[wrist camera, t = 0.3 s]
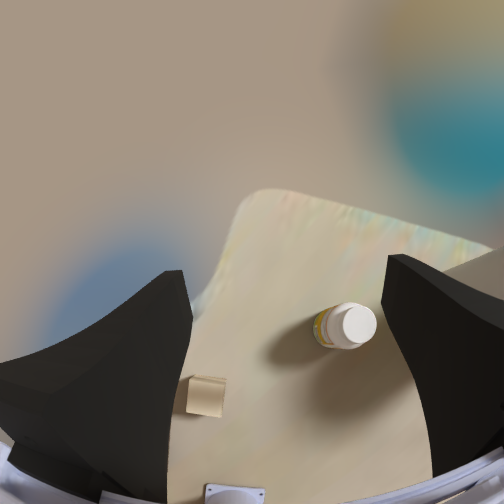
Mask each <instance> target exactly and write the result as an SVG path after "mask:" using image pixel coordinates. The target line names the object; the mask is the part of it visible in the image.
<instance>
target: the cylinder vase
mask: <svg viewBox="0 0 504 504" xmlns="http://www.w3.org/2000/svg"><path fill="white" fill-rule="evenodd" d="M442 273H444V274H446V275H448V276H450V277H452V278H454V279H455V280H457V281H459V282H462V283H464V284H466V285H468V286H470V287H472V288H474V289H476V290H479V291H481V292H483V293H486V294H488V295H491V296H493V297H496V298H499V299H502V300H504V246H502V247H500V248H498V249H496V250H493V251H491V252H489V253H487V254H484V255H482V256H480V257H477V258H475V259H473V260H470V261H468V262H466V263H463V264H461V265H459V266H456V267H454V268H451V269H449V270H446V271H444V272H442Z"/></svg>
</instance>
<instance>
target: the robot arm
mask: <svg viewBox="0 0 504 504" xmlns="http://www.w3.org/2000/svg"><path fill="white" fill-rule="evenodd" d="M381 305H382V308H383V311H384V314H385V317H386V320H387V322H388V325H389V327H390V329H391V331H392V333H393V335H394V337H395V339H396V342H397V344H398V346H399V348H400V350H401V352H402V354H403V356H404V358H405V360H406V362H407V364H408V366H409V368H410V370H411V373H412V375H413V378H414V380H415V383H416V386H417V390H418V393H419V396H420V400H421V403H422V407H423V411H424V416H425V420H426V425H427V430H428V436H429V442H430V449H431V459H432V473H433V478H432V479H429V480H427V481H424V482H421V483H418V484H415V485H412V486H409V487H406V488H403V489H399V490H396V491H392V492H389V493H385V494H381V495H377V496H373V497H369V498H365V499H360V500H355V501H350V502H345V503H339V504H436V503H438V502H441V501H443V500H445V499H448V498H450V497H452V496H454V495H457V494H459V493H461V492H463V491H465V490H466V491H465V492H464V493H462V494H460V495H458V496H457V497H455V498H453V499H451V500H449V501H447V502H445V503H443V504H504V300H502V299H499V298H496V297H493V296H491V295H488V294H486V293H483V292H481V291H479V290H476V289H474V288H472V287H470V286H468V285H466V284H464V283H462V282H459V281H457V280H455V279H454V278H452V277H450V276H448V275H446V274H444V273H442V272H440V271H438V270H436V269H434V268H433V267H431V266H429V265H427V264H425V263H423V262H421V261H419V260H417V259H415V258H412V257H410V256H408V255H405V254H396V255H388V261H387V268H386V275H385V281H384V287H383V293H382V299H381ZM192 322H193V315H192V310H191V306H190V302H189V298H188V294H187V290H186V286H185V281H184V276H183V272H182V270H174V271H165V272H163V273H162V274H160V275H159V276H157V277H156V278H155V279H154V280H152V281H151V282H150V283H148V284H147V285H146V286H145V287H143V288H142V289H141V290H140V291H138V292H137V293H136V294H135V295H133V296H132V297H131V298H129V299H128V300H127V301H125V302H124V303H123V304H122V305H120V306H119V307H117V308H116V309H115V310H113V311H112V312H111V313H109V314H108V315H106V316H105V317H103V318H102V319H101V320H99V321H97V322H96V323H94V324H92V325H91V326H89V327H88V328H86V329H84V330H82V331H81V332H79V333H77V334H75V335H73V336H71V337H69V338H67V339H65V340H63V341H61V342H59V343H57V344H55V345H53V346H50V347H48V348H45V349H43V350H41V351H38V352H35V353H33V354H30V355H27V356H24V357H21V358H17V359H14V360H10V361H7V362H3V363H0V427H1V428H2V429H3V430H4V431H5V432H6V433H7V434H8V435H9V436H10V437H11V438H12V439H13V440H14V441H15V443H14V445H13V447H12V448H10V447H9V446H8V445H6V444H5V443H3V442H1V441H0V504H167V462H168V445H169V434H170V424H171V417H172V409H173V402H174V398H175V393H176V389H177V385H178V382H179V378H180V375H181V371H182V367H183V364H184V360H185V357H186V353H187V350H188V346H189V342H190V337H191V330H192ZM208 489H211V490H208ZM260 493H262V495H260ZM264 496H265V489H263V488H250V487H237V486H227V485H218V484H211V483H209V484H207V485H206V494H205V504H263V501H264Z"/></svg>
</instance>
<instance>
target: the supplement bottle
mask: <svg viewBox="0 0 504 504" xmlns="http://www.w3.org/2000/svg"><path fill="white" fill-rule="evenodd" d="M376 325H377V324H376V318H375V315H374V314H373V312H372V311H371V310H370V309H369V308H367V307H364V306H361V305H359V304H357V303H353V302H347V303H343V304H340V305H337V306H334V307H331V308H328V309H326V310H324V311H322V312H321V313H320V314H319V315H318V316H317V317H316V319H315V321H314V325H313V332H314V336H315V338H316V340H317V341H318V342H319V343H320V344H321V345H322V346H324V347H327V348H336V349H354V348H357V347H359V346H361V345H362V344H364V343H365V342H367V341H368V340H370V339H371V338H372V336H373V335H374V333H375V331H376Z"/></svg>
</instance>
